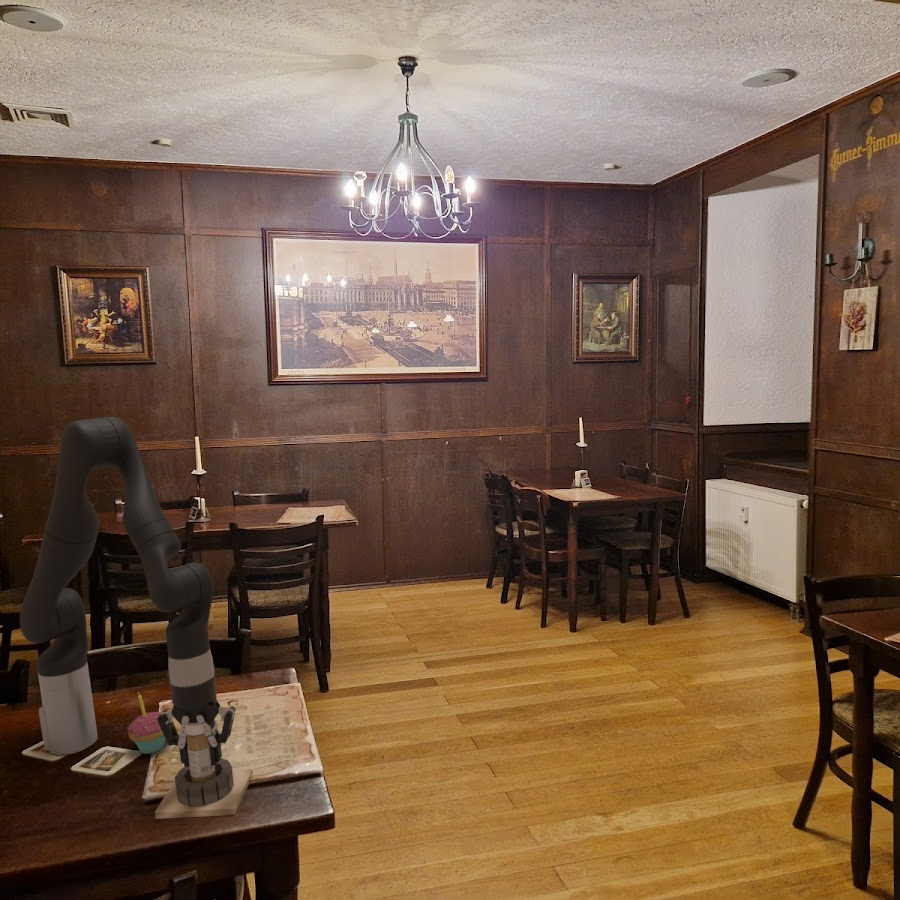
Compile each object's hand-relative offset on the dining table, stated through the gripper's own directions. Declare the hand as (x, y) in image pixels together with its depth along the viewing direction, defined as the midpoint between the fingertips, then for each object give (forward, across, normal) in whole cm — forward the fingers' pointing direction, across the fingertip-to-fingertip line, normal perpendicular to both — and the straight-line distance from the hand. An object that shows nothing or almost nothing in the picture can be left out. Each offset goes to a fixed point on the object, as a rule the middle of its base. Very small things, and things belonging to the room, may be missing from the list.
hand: (202, 763), depth 137 cm
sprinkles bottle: (+5, 0, 0) cm, 5 cm away
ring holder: (+6, 0, 0) cm, 6 cm away
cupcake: (+7, -17, +18) cm, 26 cm away
